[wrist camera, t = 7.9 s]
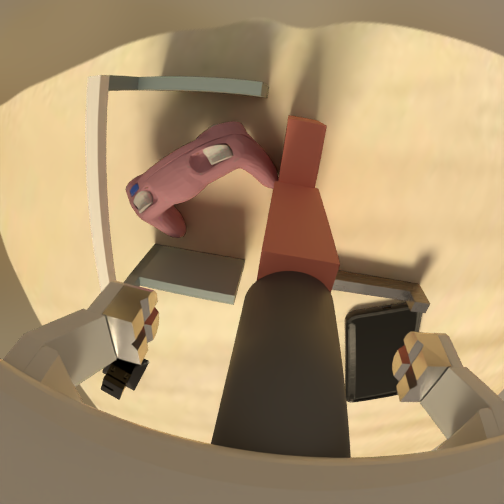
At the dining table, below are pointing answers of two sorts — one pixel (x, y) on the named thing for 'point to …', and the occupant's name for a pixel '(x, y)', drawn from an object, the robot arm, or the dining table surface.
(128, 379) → the black piece
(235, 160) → the video game controller
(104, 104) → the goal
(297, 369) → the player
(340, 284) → the rail
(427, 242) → the dining table surface
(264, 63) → the dining table surface
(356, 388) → the phone
